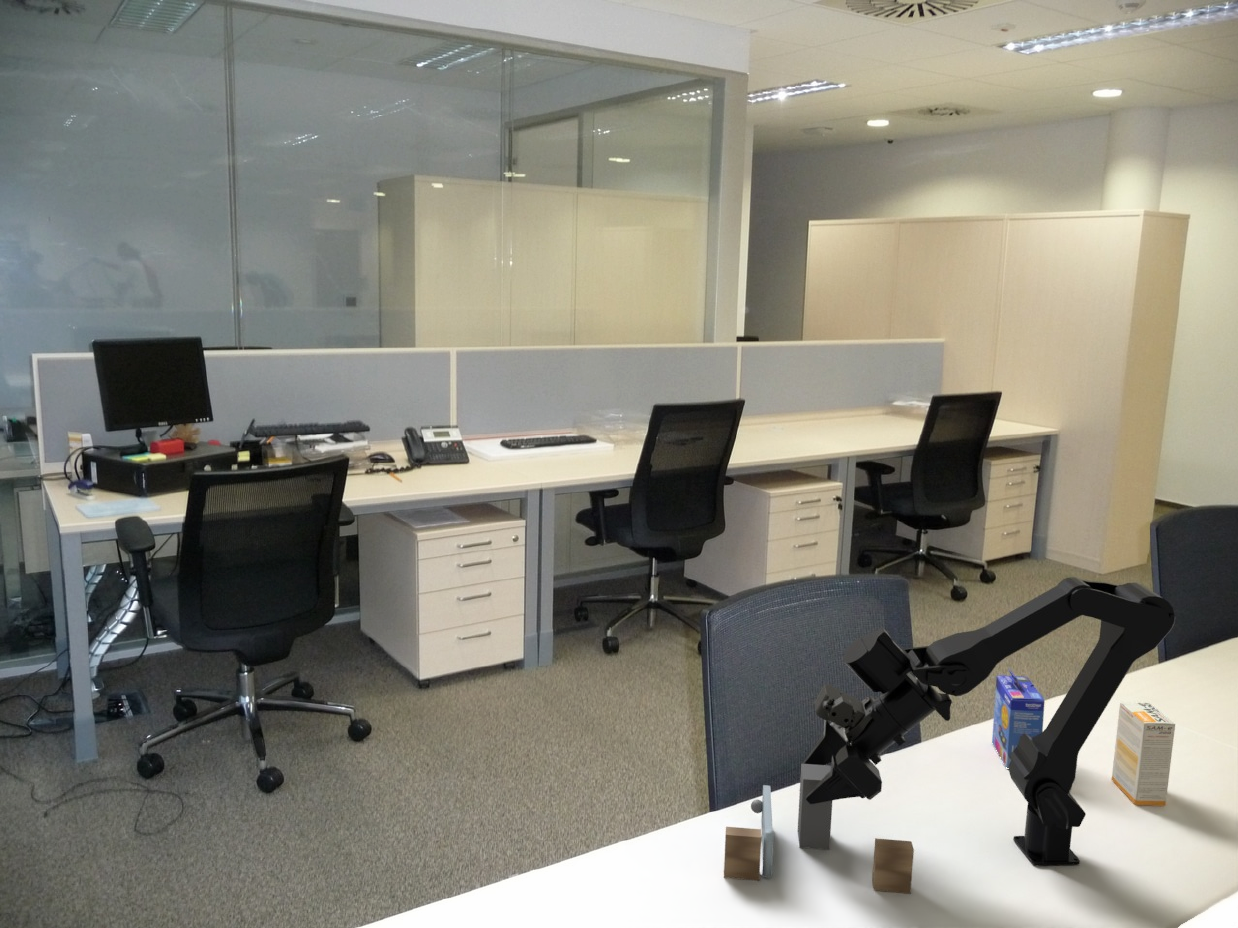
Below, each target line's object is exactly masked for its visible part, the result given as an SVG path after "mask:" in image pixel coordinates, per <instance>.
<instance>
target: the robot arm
mask: <svg viewBox="0 0 1238 928" xmlns="http://www.w3.org/2000/svg"><path fill="white" fill-rule="evenodd" d="M1082 616H1085V617H1089V618H1093V619H1096V620H1099V621H1100V628H1099V629H1100V630H1099V636H1098V641H1097V643H1096V645H1095V646H1094V648H1093V650H1092V651H1091V652H1090V655H1089V656H1088V658H1087V660H1085V663H1084V665H1083V667H1082V668H1081V670H1080V671H1079V672H1078V674H1077V676H1076V678H1075V679H1074V681H1073V683H1072V685H1071V686H1070V687H1069V690H1068V691H1067V692H1066V695H1064V698H1063V699H1062V702H1061V703H1060V705H1059V706H1058V708H1057V710H1056V711H1055V713H1054V715H1053V716H1052V718H1051V719H1050V721H1049V723H1048V724H1047V725H1046V727H1045V729H1044V730H1043V732H1042V733H1040V734H1038V735H1037V736H1035V737H1033V738H1031V737H1030V736H1028V735H1027V734H1025V733H1024V734H1023V735H1022V736H1021V737H1020V740H1019V743H1018V745H1017V747H1016V748H1015V750H1014V751H1013V752H1012V753H1010V754H1009V755H1008V757H1009V758H1010V759H1011V762H1010V764H1009V770H1008V771H1009V776H1010V779H1011V781H1012V782H1013V783H1014V784H1015V786H1016V788H1017V789H1018V791H1019V792H1020V794H1021V795H1022V796H1023V798H1024V800H1025V801H1026V802H1027V807H1026V818H1025V828H1024V835H1014V836H1013V838H1012V839H1013V842H1014V843H1015V844H1016V845H1017V847H1018V848H1019V850H1021V852H1022V853H1023V854H1024V855H1025V857H1026V858H1027V859H1028V860H1029V862H1030V863H1031V864H1032V865H1034V866H1059V865H1060V866H1061V865H1067V866H1068V865H1070V866H1072V865H1080V862H1081V860H1080V858H1079V857H1078V856H1077V855H1076V854H1075V853H1074V851H1073V850H1071V844H1072V843H1071V841H1072V833H1073V828H1080V826H1081V825H1082V824H1083V821H1084V819H1085V818H1086V812H1085V810H1084V809H1083V808H1082V807H1081V805H1080V804H1079V803H1078V802H1077V800H1076V799H1075V798H1074V797H1073V795H1072V793H1071V790H1072V787H1073V785H1074V783H1075V780H1076V776H1077V775H1076V774H1077V766H1078V756H1079V753H1080V751H1081V749H1082V747H1083V746H1084V743H1086V741H1087V739H1089V736H1090V734H1091V732H1092V731H1093V729H1094V728H1095V726H1096V725H1097V723H1098V721H1099V719H1100V717H1101V716H1102V715H1103V712H1104V711H1105V710H1106V708H1107V707H1108V705H1109V703H1110V702H1111V700H1112V698H1113V696H1114V695H1115V693H1116V691H1118V688H1119V687H1120V685H1121V683H1122V682H1123V680H1124V679H1125V678H1126V675H1127V674H1128V672H1129V671H1130V669H1131V667H1132V666H1133V664H1134V663H1135V662H1136V661H1137V660H1138V659H1140V658H1142V657H1143V656H1145V655H1146V654H1148V653H1150V652H1151V651H1153V650H1154V649H1156V648H1157V647H1158V645H1160V643H1161V642H1162V641H1163V640H1165V638H1166V637H1167V635H1168V634H1169V633H1170V632H1171V631H1172V629H1173V628H1174V625H1175V623H1176V615H1175V611H1174V607H1173V606H1172V605H1171V602H1169V601H1168V600H1167V599H1165V598H1163V597H1162V596H1161V595H1159V594H1158V593H1156V592H1154V591H1153V590H1151V589H1150V588H1148V587H1147V586H1146V585H1144V584H1141V583H1138V582H1126V583H1122V584H1114V583H1109V582H1106V581H1095V580H1084V579H1082V578H1078V577H1074V576H1072V577H1071V576H1070V577H1066V578H1063V579H1062V580H1060V581H1059V582H1058V584H1057V585H1055V586H1054V587H1052V588H1050V589H1048V590H1046V591H1045V592H1043V593H1041V594H1039V595H1038V596H1036V597H1034V598H1033V599H1031V600H1028V601H1027V602H1026V603H1023V604H1022V605H1020V606H1019V607H1016V608H1015V609H1013V610H1011V611H1010V612H1008V613H1006V614H1004V615H1002V616H1001V617H999V618H996V619H995V620H994V621H991V622H990V623H988V624H987V625H985V626H982V627H980V628H978V629H974V630H969V631H962V632H957V633H954V634H953V633H952V634H951V635H948V636H946V637H943V638H940V639H938V640H935V641H933V642H932V643H931V644H930V645H926V646H925V645H924V646H915V647H913V646H912V647H903V648H901V647H899V645H898V644H897V643H896V642H895V641H894V640H893V639H892V637H891V636H890V634H889V632H888V631H886V630H885V629H884V627H879V628H877V630H875V631H873V632H871V631H870V632H869V633H865V634H863V635H862V636H861V637H860V636H858V637H857V638H856V639H854V640H853V641H852V643H850V645H848V647H847V648H846V650H845V652H844V653H843V656H842V661H843V663H844V664H845V665H846V666H847V667H848V668H849V669H850V670H851V671H852V672H853V673H854V674H855V675H856V677H858V679H860V680H861V681H862V683H864V684H865V686H866V687H867V688H868V689H869V690H871V692H873V693H879V692H881V695H880V696H878V697H877V698H876V699H875V698H874V697H873V696H872V695H871V696H866V697H865V698H864V699H863V700H861V701H860V700H859V699H856V698H855V697H854V696H852V695H850V694H849V693H847V692H845V691H843V690H841V689H840V688H839V689H838V688H836V687H835V686H833V685H831V684H828V683H825V684H823V686H822V688H821V690H820V691H819V693H818V695H817V697H816V699H815V701H814V702H813V706H814V707H815V709H814V712H815V715H816V716H818V717H819V718H821V719H822V720H823V721H824V723H823V733H822V734H821V736H820V737H819V739H818V741H816V744H815V745H814V747H813V748H812V749H811V751H810V752H809V753H808V755H807V756H806V758H805V760H803V763H802V764H814V765H828V764H830V763H831V764H830V766H831V770H830V772H829V773H828V774H827V775H826V776H825V777H824V778H823V779H822V780H821V781H820V782H819V783H818V784H817V785H816V786H815V787H814V788H813V789H812V791H811V792H810V793H809V794H808V795H807V796H806V800H807V801H808V802H809V803H810V804H816V803H821V802H827V801H832V802H833V801H837V800H841V799H842V800H843V799H850V798H851V799H852V798H861V799H864V798H866V799H867V800H869V801H870V800H872V799H873V798H875V797H876V796H877V795H879V794H880V793H882V786H883V781H882V777H881V773H880V771H879V768H878V767H877V765H878V764H880V762H882V758H881V754H882V753H883V752H884V751H886V750H887V749H888V748H890V747H891V746H893V744H895V743H896V744H897V745H898V746H899V747H901V746H902V745H903V744H904V743H905V742H906V739H905V737H904V736H905V735H906V734H908V733H909V732H910V731H911V730H912V729H914V728H915V727H916V726H917V725H918V724H920V723H921V722H923V720H925V719H926V718H927V717H929V716H930V715H932V714H933V712H935V711H936V713H938V714H939V715H940V716H941V718H942V719H943V720H944V721H946V722H949V721H950V720H951V708H952V707H951V706H952V703H953V701H952V698H951V696H953V697H961V696H964V695H967V694H968V693H970V692H971V691H973V689H975V688H976V687H977V686H979V685H980V684H981V683H983V682H984V681H985V680H986V679H987V678H989V676H990V675H991V674H992V672H993V671H994V669H995V668H996V666H997V665H998V664H1000V663H1001V662H1002V661H1004V660H1005V659H1006V658H1008V657H1010V656H1011V655H1013V654H1015V653H1017V652H1018V651H1020V650H1022V649H1025V648H1026V647H1027V646H1029V645H1032V644H1033V643H1035V642H1036V641H1038V640H1040V639H1041V638H1043V637H1045V636H1048V635H1049V634H1050V633H1052V632H1054V631H1056V630H1058V629H1059V628H1061V627H1063V626H1065V625H1067V624H1068V623H1070V622H1072V621H1074V620H1076V619H1078V618H1079V617H1082ZM911 673H912V674H911ZM935 688H938V689H939V691H940V692H942V693H940V692H938V691H937V690H936V689H935Z"/></svg>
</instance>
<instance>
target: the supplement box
mask: <svg viewBox="0 0 1238 928" xmlns="http://www.w3.org/2000/svg"><path fill="white" fill-rule="evenodd" d="M1175 730H1176V723H1175V722H1174V721H1172V719H1170V718H1168V716H1166V715H1165V714H1164V713H1162V712H1161V710H1159V709H1157V708H1156V707H1155V705H1153V704H1152V703H1151V702H1148V701H1147V702H1146V701H1143V702H1142V701H1137V702H1136V701H1120V702H1119V707H1118V719H1117V727H1116V735H1115V745H1114V755H1113V765H1112V773H1111V781H1112V780H1113V781H1114V782H1113V781H1112V782H1113V783H1114V784H1115V785H1116V787H1118V788H1119V790H1121V791H1122V792H1123V793H1124V795H1126V797H1128V799H1129V800H1130V801H1131V802H1132V803H1133V804H1134V805H1136V806H1148V805H1150V807H1151V805H1152V806H1155V807H1156V806H1159V807H1164V806H1166V805H1167V797H1168V796H1167V795H1168V789H1169V782H1170V781H1169V779H1170V773H1171V772H1170V770H1171V765H1172V763H1171V762H1172V756H1173V755H1172V754H1173V746H1174V737H1175Z"/></svg>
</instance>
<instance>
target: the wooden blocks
mask: <svg viewBox="0 0 1238 928" xmlns="http://www.w3.org/2000/svg"><path fill="white" fill-rule="evenodd" d="M761 849H762V828H750V827H748V828H747V827H736V826H726V827H725V841H724V862H723V878H725V879H735V880H746V881H747V880H748V881H758V882H759V881H760V869H761V868H760V867H761V855H762V854H761V851H762V850H761ZM873 850H874V852H873V863H872V874H871V875H872V876H871V883H872V886H873V887H872V888H873V891H875V892H876V891H877V892H887V893H889V892H890V893H899V894H901V893H902V894H911V893H912V891H911V890H912V878H913V876H912V875H913V865H914V864H913V863H914V852H915V849H914V846H913V841H910V840H901V839H900V840H899V839H887V838H878V837H877V838H874V849H873Z"/></svg>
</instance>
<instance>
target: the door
mask: <svg viewBox="0 0 1238 928" xmlns="http://www.w3.org/2000/svg"><path fill="white" fill-rule="evenodd" d="M771 791H772V790H771V785H765V784H763V785H762V799H761V800H760V799H754V800H752V801H751V804H750V809H751V810H752V812H754V813H756V814H760V813H761V819H760V821H761V849H762V850H761V851H762V873H761V874H762V876H763V877H765V878H771V877H772V876H773V875H772V874H773V857H774V855H773V854H774V838H775V836H774V835H775V832H774V827H773V810H772V809H773V808H772V795H771V794H772V793H771Z"/></svg>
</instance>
